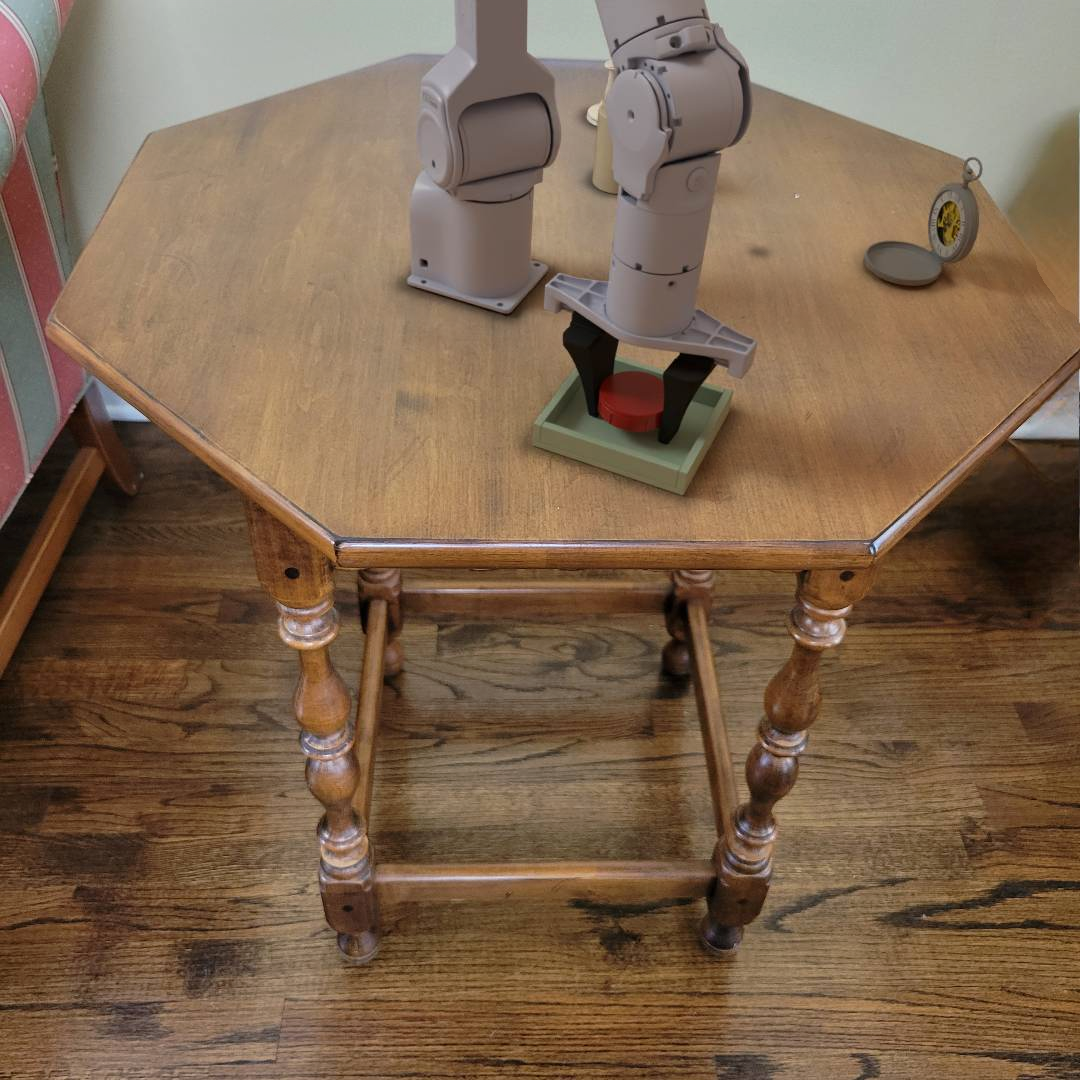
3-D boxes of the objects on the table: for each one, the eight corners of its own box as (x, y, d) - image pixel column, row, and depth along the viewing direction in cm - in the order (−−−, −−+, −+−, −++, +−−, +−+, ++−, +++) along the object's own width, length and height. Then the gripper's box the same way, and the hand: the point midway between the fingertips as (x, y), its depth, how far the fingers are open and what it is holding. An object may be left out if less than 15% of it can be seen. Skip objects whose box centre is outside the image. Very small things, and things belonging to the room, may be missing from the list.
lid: (650, 441, 73) (653, 424, 72) (584, 415, 74) (586, 398, 73) (682, 403, 76) (685, 386, 75) (618, 378, 78) (620, 362, 77)
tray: (531, 445, 75) (533, 422, 73) (588, 369, 81) (590, 347, 80) (683, 496, 72) (687, 473, 70) (728, 412, 78) (733, 390, 77)
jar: (584, 187, 102) (591, 101, 96) (603, 166, 105) (611, 83, 100) (631, 199, 101) (641, 113, 95) (648, 178, 104) (659, 94, 98)
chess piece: (641, 117, 114) (652, 19, 107) (618, 133, 111) (629, 33, 104) (601, 105, 116) (609, 7, 109) (577, 120, 113) (585, 21, 106)
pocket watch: (847, 267, 94) (878, 158, 87) (898, 236, 98) (932, 130, 91) (928, 306, 90) (968, 195, 83) (978, 272, 94) (1020, 164, 87)
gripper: (789, 257, 67) (749, 427, 76) (584, 193, 71) (570, 361, 81) (748, 309, 62) (710, 483, 72) (532, 238, 67) (524, 410, 76)
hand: (633, 422), depth 76 cm, fingers closed on lid, 5 cm apart
